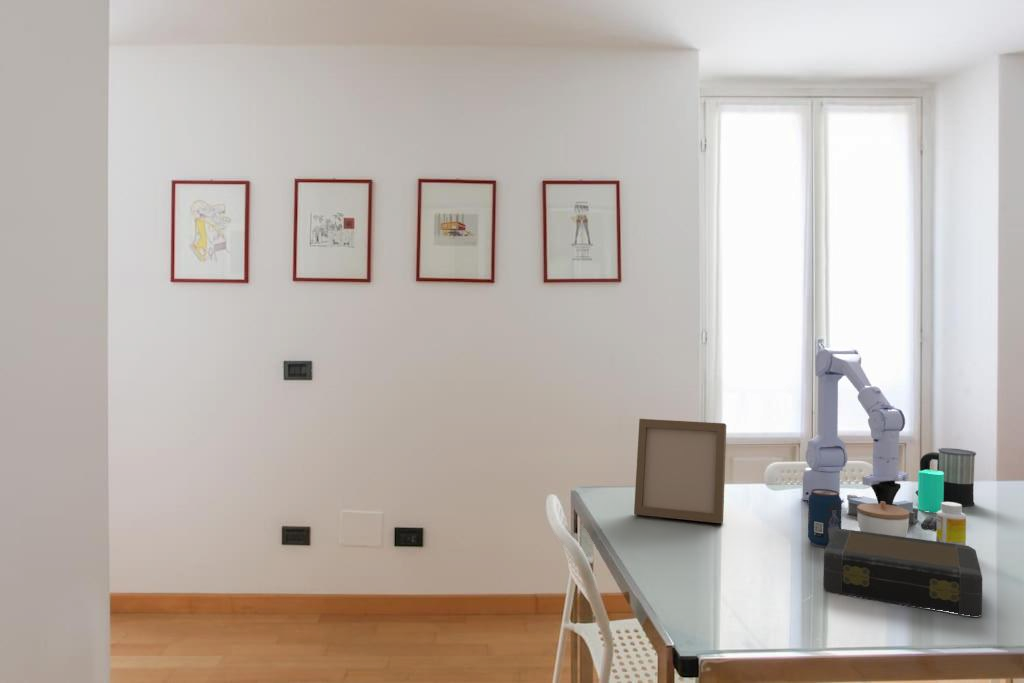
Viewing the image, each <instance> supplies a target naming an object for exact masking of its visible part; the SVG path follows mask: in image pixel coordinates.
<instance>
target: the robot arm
mask: <svg viewBox="0 0 1024 683" xmlns="http://www.w3.org/2000/svg"><path fill="white" fill-rule="evenodd" d="M861 365H862V356H861V355H860V354H859V351H858V350H857V349H856V348H853V347H851V348H827V347H822V348H821V349H820V350H819V351H818V352H817V353H816V354H815V376H816V377H817V432H816V433H817V434H816V435H815V436H814V437H812V438H811V439H809V440H808V441H807V448H806V452H805V460H806V464H807V465H808V467H806V468H804V470H803V474H802V497H801V500H802V501H807V500H808V501H809V496H810V494H811V493H812V492H811V491H812V490H813V489H828V490H834V491H837V492H838V493H839V496H840V498H841V501H842V502H843V501H845V498H844V497H841V494H840V493H841V490H840V489H841V472H842V471H843V468H845V467H846V466H847V463H848V457H849V456H848V453H847V449H846V442H844V441H843V439H841V438H840V437H838V430H839V429H838V424H839V423H838V414H839V412H838V408H839V407H838V406H839V404H838V403H839V402H838V401H839V399H838V398H839V397H838V396H839V392H838V391H839V387H838V386H839V381H840V380H841V379H842V378H843V377H846V379H848V381H849V382H850V383H851V384H852V385H853V387H854V388H855V390H857V392H858V394H857V400H858V402H859V403H860V404H861V406H862V408H863V409H864V411H865V413H866V414H867V416H868V418H867V423H868V427H869V429H870V436H871V438H873V439H872V440H873V441H872V442H873V443H872V472H871V473H870V474H868V475H864V476H862V480H861V481H862V485H863V486H869V487H871V489H872V490H873V492H874V494H875V497H876V499H877V501H878V504H881V501H884V502H886V504H887V505H892V503H893V502H894V500H895V497H896V495H897V494H898V492H899V490H901V484H900V483H899V481H901V482H902V481H903V482H904V481H905V482H906V481H909V473H908V472H905V471H900V470H899V469H900V468H899V466H900V465H899V464H900V432H902V431H903V430H904V428H905V426H906V417H905V415H904V413H903V411H902V409H901V408H897V407H895V406H894V405H891V403H890V402H889V400H888V399H887V398H886V396H885V395H884V393H883V391H882V390H881V389H880V387H878V386H875V385H872V384H871V382H870V380H869V379H868V377H867V375H866V373H865V371H864V369H863V367H862V366H861ZM897 482H898V483H897Z"/></svg>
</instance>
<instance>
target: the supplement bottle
mask: <svg viewBox="0 0 1024 683" xmlns="http://www.w3.org/2000/svg"><path fill="white" fill-rule="evenodd" d="M936 516H937V529H936V531H935V533H936V535H935V536H936V538H935V539H936V540H935V541H937V542H945V543H952V544H959V545H966V542H967V541H966V538H967V535H966V534H967V533H966V532H967V530H966V529H967V517H966V516H967V515H966V514H965V513H964V512H963V506H962V505H961V504H958V503H954V502H942V503H941V510H940V511H938V512H937V513H936ZM966 546H967V545H966Z"/></svg>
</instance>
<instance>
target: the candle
mask: <svg viewBox="0 0 1024 683" xmlns="http://www.w3.org/2000/svg"><path fill="white" fill-rule="evenodd" d="M930 468H932V466H931V465H930ZM917 476H918V477H917V478H918V479H917V490H918V496H917V508H918V510H919V509H920V510H919V511H921V510H923V511H922V512H924V511H929V512H938V511H940V510H941V503H942V502H944V473H943V471H937V469H936V470H935V469H930V470H923V471H920V470H918V473H917ZM929 512H928V513H929Z"/></svg>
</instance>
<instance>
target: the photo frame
mask: <svg viewBox="0 0 1024 683" xmlns="http://www.w3.org/2000/svg"><path fill="white" fill-rule="evenodd" d="M638 422H639V423H638V437H637V438H638V439H637V451H636V452H637V454H636V471H635V489H634V490H635V491H634V509H633V514H634V515H639V516H647V517H649V516H650V517H655V518H656V517H657V518H666V519H667V518H668V519H677V520H687V521H695V522H705V523H716V524H724V507H725V505H724V504H725V481H726V480H725V478H726V477H725V476H726V475H725V474H726V452H727V450H726V447H727V446H726V445H727V424H726V423H724V422H707V421H705V422H704V421H690V420H689V421H688V420H687V421H686V420H670V419H669V420H667V419H651V418H639V420H638Z"/></svg>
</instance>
